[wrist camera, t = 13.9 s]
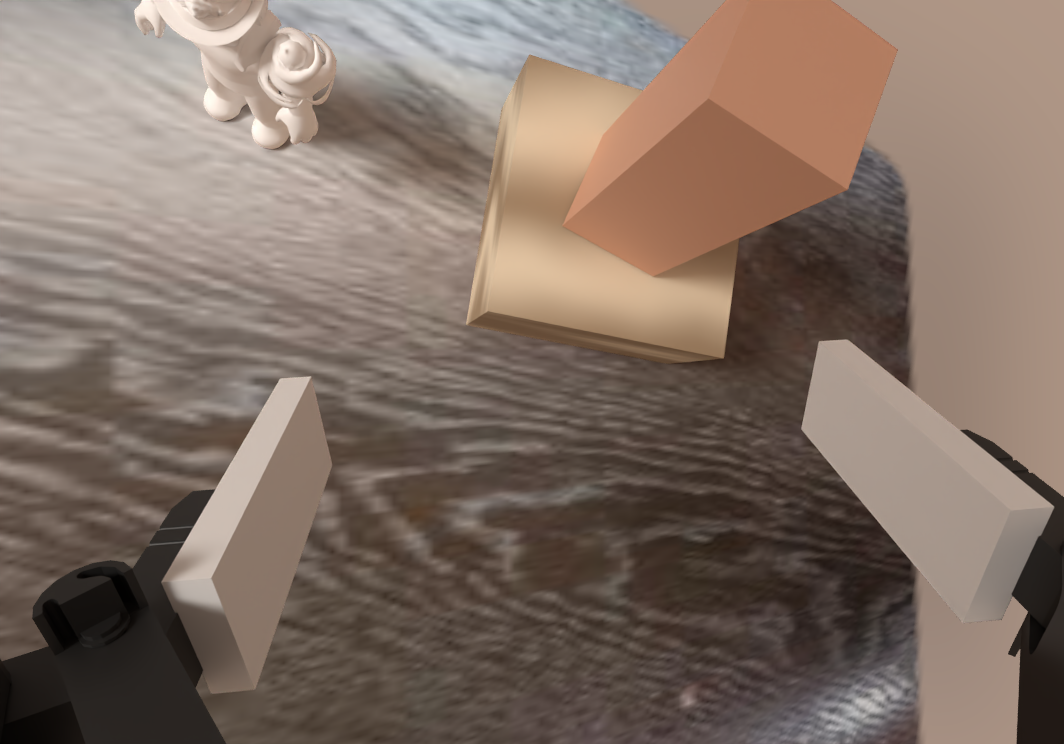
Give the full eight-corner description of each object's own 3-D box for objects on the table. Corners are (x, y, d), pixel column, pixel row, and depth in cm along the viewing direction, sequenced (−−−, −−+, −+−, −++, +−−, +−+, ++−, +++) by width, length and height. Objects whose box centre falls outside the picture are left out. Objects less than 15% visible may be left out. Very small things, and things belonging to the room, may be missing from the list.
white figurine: (354, 135, 31) (354, -14, 20) (310, 196, 31) (283, 78, 19) (189, 18, 30) (82, -222, 18) (138, 80, 29) (-7, -128, 17)
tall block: (562, 226, 28) (708, 98, 17) (603, 134, 29) (768, -47, 18) (653, 276, 29) (847, 189, 18) (689, 187, 30) (897, 49, 19)
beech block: (500, 112, 34) (529, 54, 28) (692, 167, 37) (754, 126, 31) (464, 325, 33) (487, 311, 27) (665, 364, 36) (723, 358, 30)
